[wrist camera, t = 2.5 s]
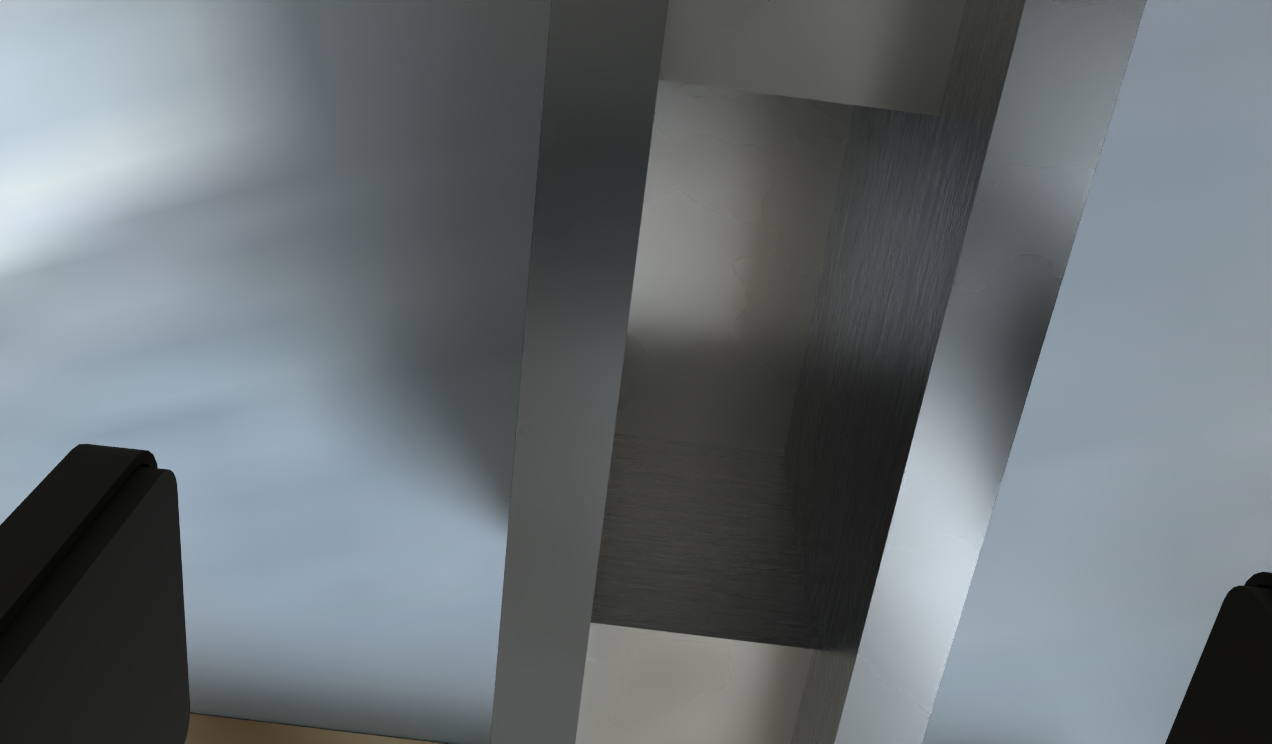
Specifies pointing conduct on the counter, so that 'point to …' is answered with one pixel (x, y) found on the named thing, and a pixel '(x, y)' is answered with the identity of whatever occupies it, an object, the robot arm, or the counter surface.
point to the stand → (274, 733)
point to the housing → (781, 352)
